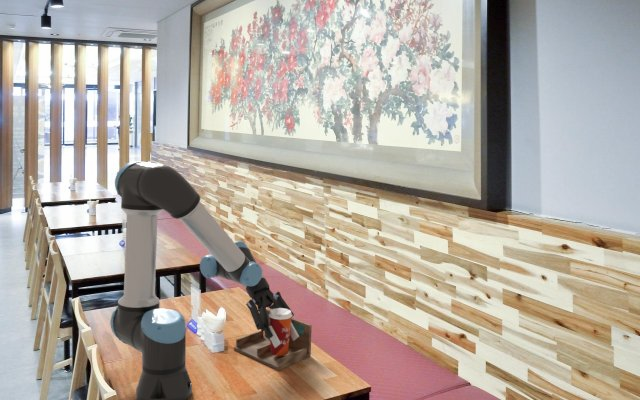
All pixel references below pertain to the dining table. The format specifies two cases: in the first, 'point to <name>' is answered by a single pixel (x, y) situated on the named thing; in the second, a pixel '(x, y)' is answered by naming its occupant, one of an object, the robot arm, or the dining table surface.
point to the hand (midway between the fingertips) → (287, 341)
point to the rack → (260, 346)
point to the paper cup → (280, 329)
